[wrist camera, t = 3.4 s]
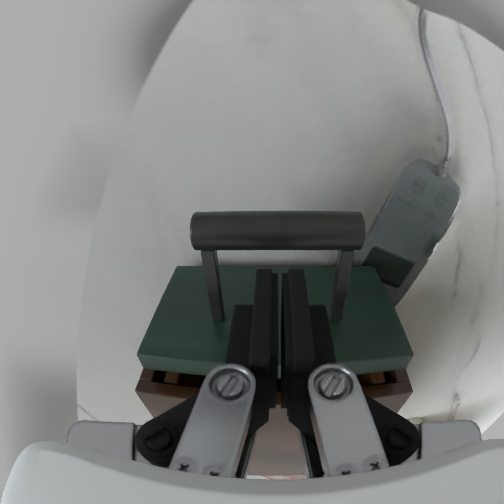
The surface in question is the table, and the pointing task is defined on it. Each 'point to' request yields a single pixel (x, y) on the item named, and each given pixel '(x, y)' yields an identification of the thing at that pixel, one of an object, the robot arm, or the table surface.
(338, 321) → the drawer
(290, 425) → the cabinet
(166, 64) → the table surface
